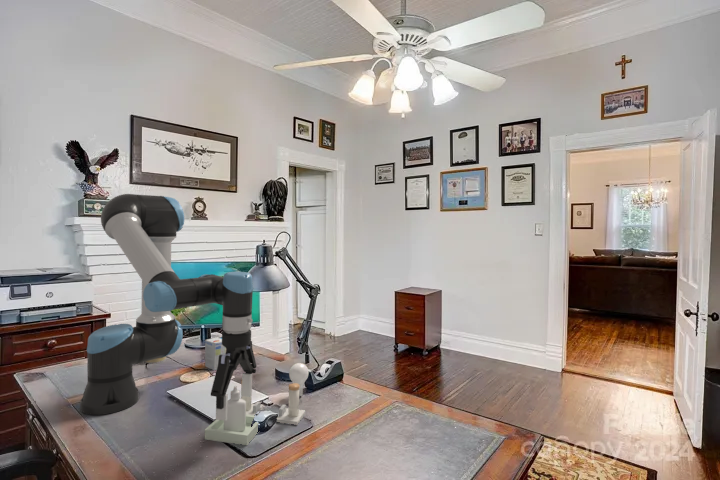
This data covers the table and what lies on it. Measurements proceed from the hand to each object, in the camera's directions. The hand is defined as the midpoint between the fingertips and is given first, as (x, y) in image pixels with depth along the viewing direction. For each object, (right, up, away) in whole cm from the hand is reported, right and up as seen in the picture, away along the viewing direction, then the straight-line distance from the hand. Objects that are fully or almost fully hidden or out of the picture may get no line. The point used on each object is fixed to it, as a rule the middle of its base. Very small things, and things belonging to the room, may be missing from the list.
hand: (234, 407), depth 106 cm
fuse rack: (+7, -7, +10) cm, 14 cm away
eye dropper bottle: (0, -7, 0) cm, 7 cm away
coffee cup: (-49, -3, +52) cm, 72 cm away
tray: (0, -7, 0) cm, 7 cm away
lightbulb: (+14, -7, +23) cm, 27 cm away
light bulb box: (-21, -4, +49) cm, 53 cm away
